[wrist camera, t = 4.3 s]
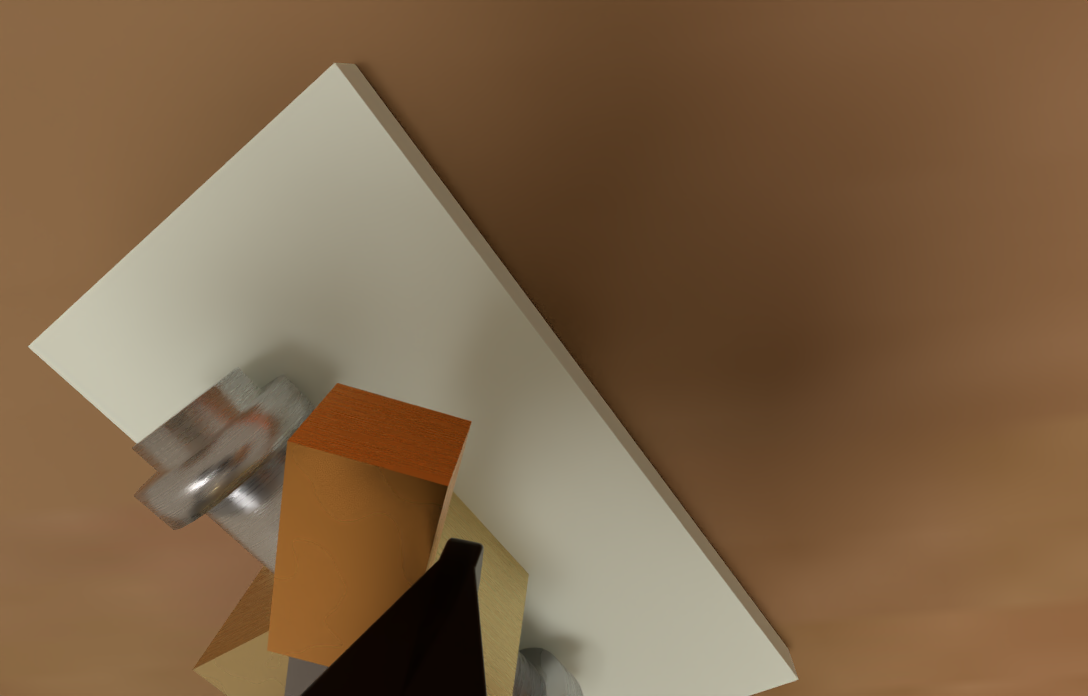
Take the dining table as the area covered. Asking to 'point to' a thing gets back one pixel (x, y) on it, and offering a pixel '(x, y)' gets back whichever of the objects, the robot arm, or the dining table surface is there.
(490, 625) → the valve
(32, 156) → the dining table surface
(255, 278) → the board
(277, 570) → the lever
